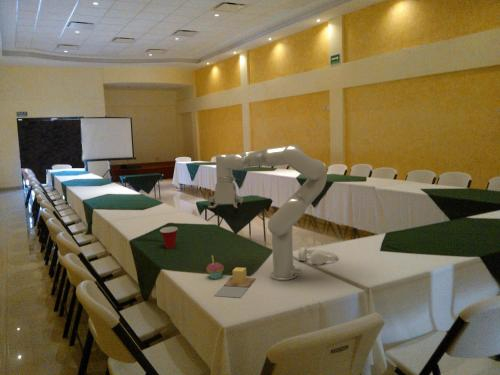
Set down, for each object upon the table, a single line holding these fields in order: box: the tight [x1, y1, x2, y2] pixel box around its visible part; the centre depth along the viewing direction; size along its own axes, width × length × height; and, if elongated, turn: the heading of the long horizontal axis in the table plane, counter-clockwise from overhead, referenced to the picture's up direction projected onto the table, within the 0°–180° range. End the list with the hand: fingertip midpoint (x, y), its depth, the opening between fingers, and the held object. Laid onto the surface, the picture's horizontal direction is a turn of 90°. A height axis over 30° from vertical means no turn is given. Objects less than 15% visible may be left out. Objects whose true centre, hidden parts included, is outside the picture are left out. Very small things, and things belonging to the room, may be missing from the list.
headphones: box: [297, 246, 339, 266], centre depth 222 cm, size 7×18×20 cm
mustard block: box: [231, 266, 248, 284], centre depth 194 cm, size 5×5×6 cm
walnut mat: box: [223, 276, 257, 289], centre depth 194 cm, size 12×11×1 cm
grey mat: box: [213, 285, 249, 299], centre depth 183 cm, size 12×11×1 cm
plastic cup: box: [159, 226, 179, 250], centre depth 258 cm, size 11×11×12 cm
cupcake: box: [205, 255, 225, 280], centre depth 202 cm, size 9×8×12 cm
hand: (226, 215), depth 202 cm, fingers open, 9 cm apart
